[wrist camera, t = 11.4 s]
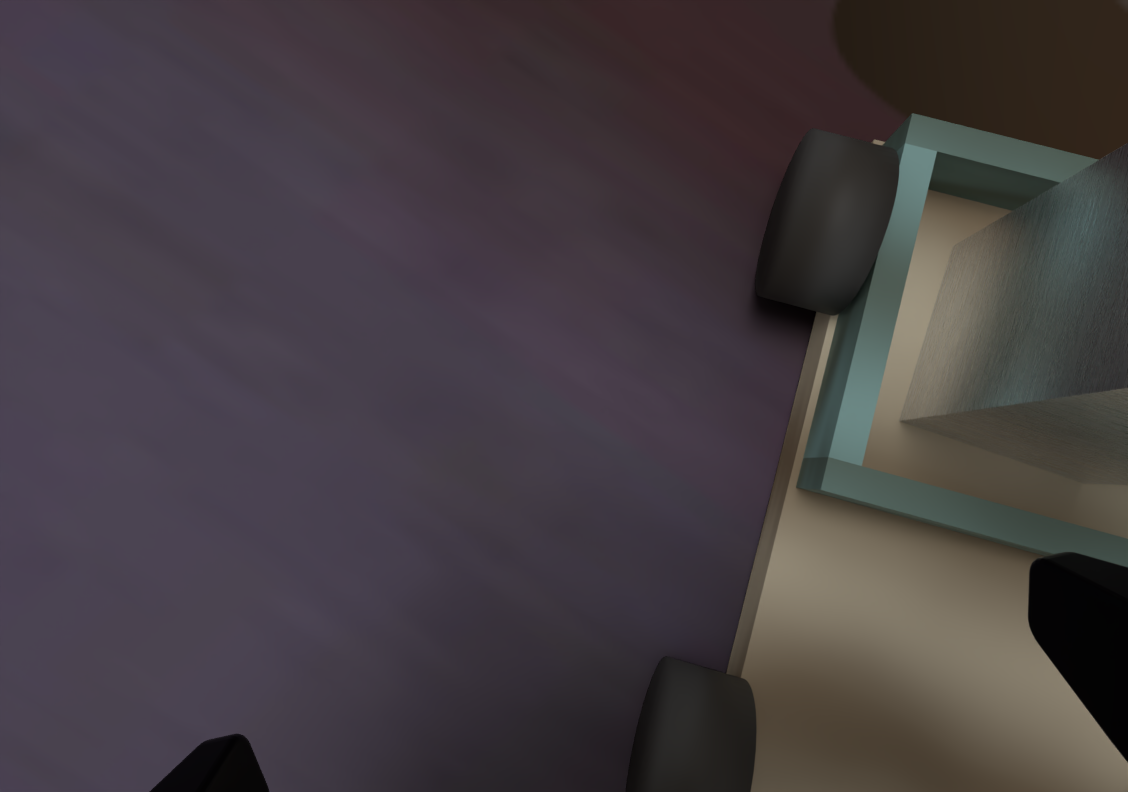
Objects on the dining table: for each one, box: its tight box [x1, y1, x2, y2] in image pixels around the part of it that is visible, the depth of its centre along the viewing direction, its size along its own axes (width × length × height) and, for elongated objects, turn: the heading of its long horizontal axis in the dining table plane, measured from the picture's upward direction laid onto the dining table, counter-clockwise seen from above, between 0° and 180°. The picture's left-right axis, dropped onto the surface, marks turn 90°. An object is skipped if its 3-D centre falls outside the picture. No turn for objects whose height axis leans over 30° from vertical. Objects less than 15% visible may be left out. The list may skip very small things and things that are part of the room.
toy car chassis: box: [626, 113, 1128, 792], centre depth 18 cm, size 20×14×4 cm
